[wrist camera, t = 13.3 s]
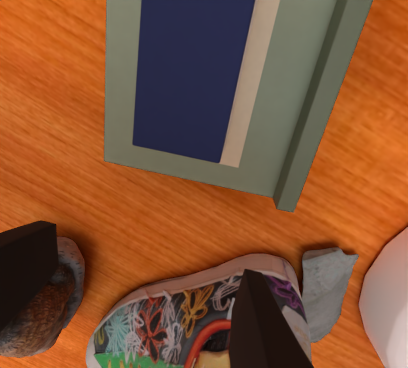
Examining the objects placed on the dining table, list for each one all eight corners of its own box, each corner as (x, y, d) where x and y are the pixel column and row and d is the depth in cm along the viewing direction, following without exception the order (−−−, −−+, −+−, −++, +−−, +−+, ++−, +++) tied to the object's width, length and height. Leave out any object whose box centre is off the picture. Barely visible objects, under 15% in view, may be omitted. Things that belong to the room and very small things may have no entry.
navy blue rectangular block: (225, 147, 14) (220, 169, 10) (159, 133, 14) (128, 149, 10) (268, -52, 10) (289, -142, 6) (180, -66, 10) (146, -162, 6)
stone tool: (280, 339, 21) (325, 326, 23) (292, 358, 20) (339, 342, 21) (297, 242, 18) (348, 233, 19) (312, 255, 16) (367, 245, 18)
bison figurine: (87, 320, 25) (1, 450, 16) (26, 297, 25) (-95, 415, 16) (105, 234, 21) (0, 348, 12) (31, 206, 21) (-134, 298, 12)
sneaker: (83, 310, 25) (-4, 435, 16) (265, 224, 19) (296, 346, 10) (127, 355, 26) (72, 490, 17) (307, 290, 20) (366, 445, 11)
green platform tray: (124, 151, 18) (89, 168, 14) (136, -100, 12) (86, -197, 8) (279, 184, 17) (293, 213, 13) (362, -65, 12) (430, -151, 8)
